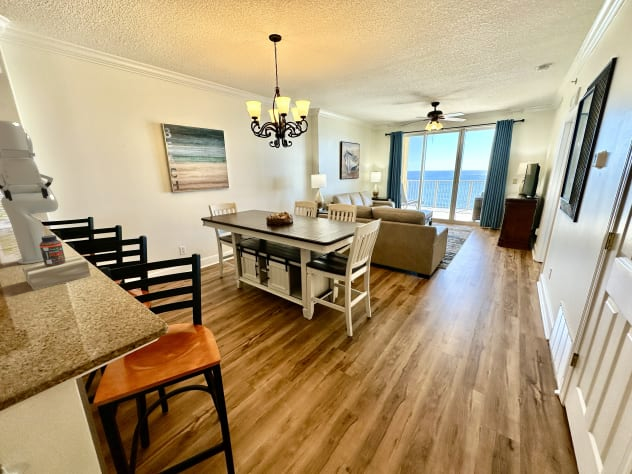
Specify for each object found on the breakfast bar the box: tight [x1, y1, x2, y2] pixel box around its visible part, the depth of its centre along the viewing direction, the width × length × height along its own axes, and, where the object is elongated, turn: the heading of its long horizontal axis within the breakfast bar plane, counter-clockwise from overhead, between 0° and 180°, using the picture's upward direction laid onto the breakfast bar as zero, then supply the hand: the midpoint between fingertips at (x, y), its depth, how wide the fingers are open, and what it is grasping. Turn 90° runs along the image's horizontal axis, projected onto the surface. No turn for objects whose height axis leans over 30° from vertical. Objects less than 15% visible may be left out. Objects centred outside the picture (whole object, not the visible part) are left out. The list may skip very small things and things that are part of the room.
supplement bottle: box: [40, 234, 66, 266], centre depth 99 cm, size 6×6×11 cm
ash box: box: [21, 255, 92, 291], centre depth 101 cm, size 14×16×6 cm
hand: (28, 199), depth 105 cm, fingers open, 9 cm apart
